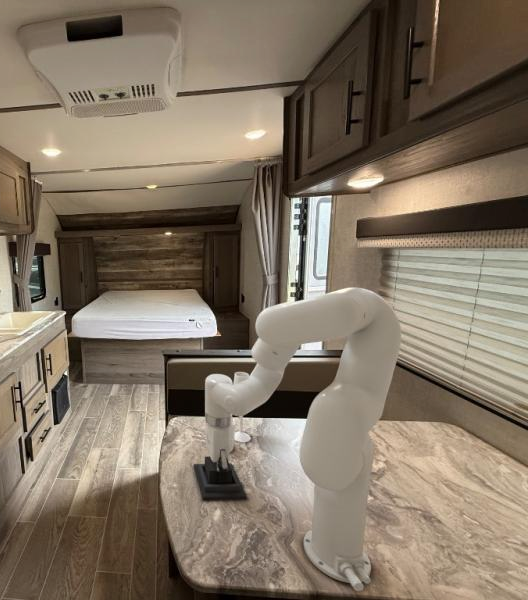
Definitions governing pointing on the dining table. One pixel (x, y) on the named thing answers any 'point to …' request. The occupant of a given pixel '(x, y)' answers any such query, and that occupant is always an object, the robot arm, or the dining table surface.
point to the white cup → (232, 434)
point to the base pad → (218, 486)
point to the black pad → (210, 470)
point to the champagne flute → (241, 435)
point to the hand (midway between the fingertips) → (217, 473)
